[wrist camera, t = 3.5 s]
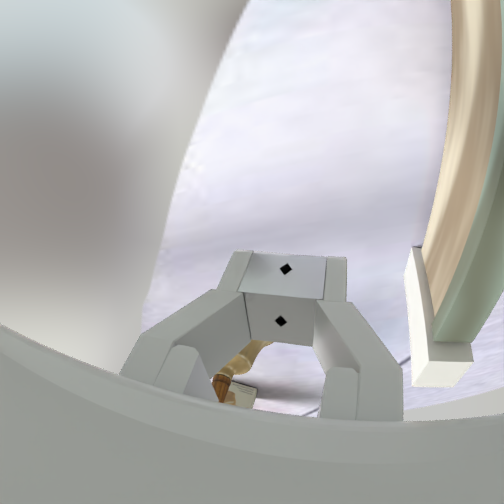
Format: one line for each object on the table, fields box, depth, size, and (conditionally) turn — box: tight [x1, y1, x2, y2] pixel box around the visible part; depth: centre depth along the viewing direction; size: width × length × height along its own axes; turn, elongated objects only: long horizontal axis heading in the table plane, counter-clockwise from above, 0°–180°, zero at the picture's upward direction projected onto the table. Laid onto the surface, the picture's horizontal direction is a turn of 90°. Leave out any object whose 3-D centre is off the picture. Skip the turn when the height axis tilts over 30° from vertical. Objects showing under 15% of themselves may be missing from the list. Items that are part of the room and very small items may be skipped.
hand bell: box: [212, 340, 273, 403], centre depth 26 cm, size 8×8×16 cm
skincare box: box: [224, 381, 257, 409], centre depth 39 cm, size 6×4×12 cm
